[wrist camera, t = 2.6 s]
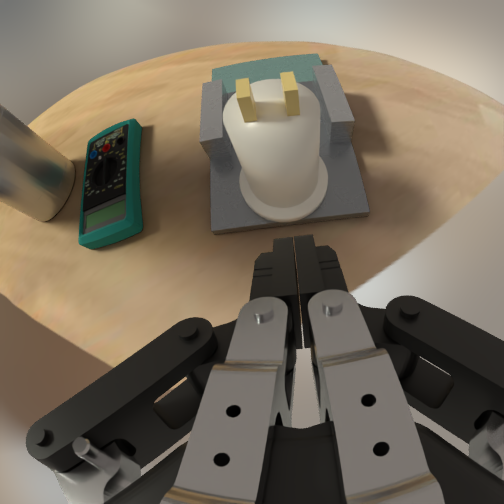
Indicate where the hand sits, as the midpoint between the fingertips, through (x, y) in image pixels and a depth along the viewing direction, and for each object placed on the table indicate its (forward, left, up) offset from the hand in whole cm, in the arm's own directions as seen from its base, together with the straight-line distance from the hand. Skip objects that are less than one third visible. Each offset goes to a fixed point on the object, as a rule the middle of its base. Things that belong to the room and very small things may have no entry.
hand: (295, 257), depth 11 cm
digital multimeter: (-18, +13, -12) cm, 25 cm away
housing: (0, +16, -11) cm, 20 cm away
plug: (0, +9, -10) cm, 14 cm away
